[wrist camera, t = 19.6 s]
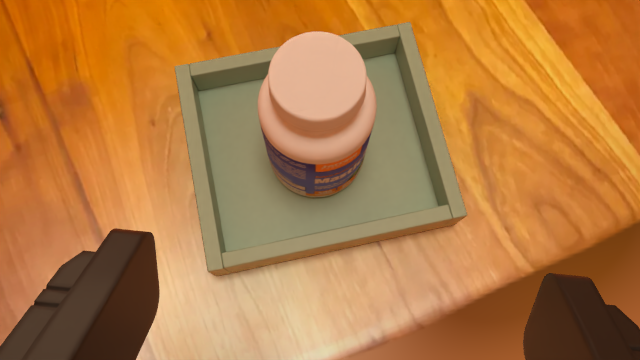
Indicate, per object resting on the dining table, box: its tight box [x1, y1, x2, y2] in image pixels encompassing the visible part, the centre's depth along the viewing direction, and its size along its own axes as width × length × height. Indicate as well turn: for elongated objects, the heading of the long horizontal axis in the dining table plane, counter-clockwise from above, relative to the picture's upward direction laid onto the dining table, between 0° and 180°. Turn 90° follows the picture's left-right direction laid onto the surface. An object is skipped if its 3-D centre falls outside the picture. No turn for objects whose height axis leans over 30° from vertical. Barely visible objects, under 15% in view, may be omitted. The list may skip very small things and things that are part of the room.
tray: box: [175, 22, 467, 276], centre depth 30 cm, size 14×12×2 cm
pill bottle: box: [258, 32, 377, 197], centre depth 26 cm, size 5×5×10 cm
